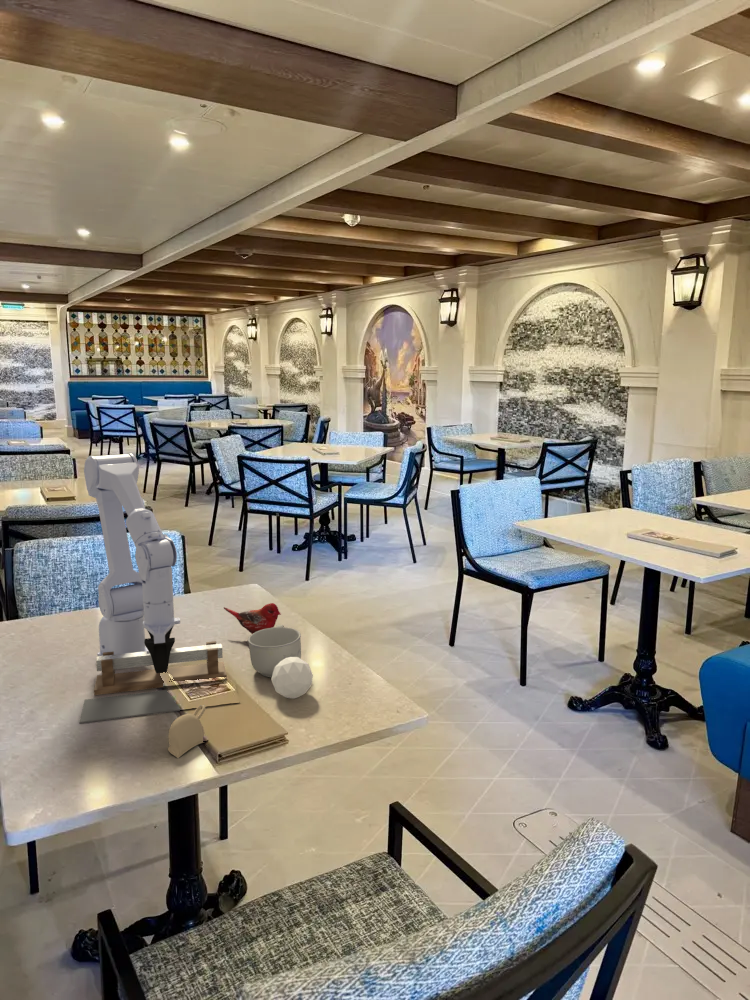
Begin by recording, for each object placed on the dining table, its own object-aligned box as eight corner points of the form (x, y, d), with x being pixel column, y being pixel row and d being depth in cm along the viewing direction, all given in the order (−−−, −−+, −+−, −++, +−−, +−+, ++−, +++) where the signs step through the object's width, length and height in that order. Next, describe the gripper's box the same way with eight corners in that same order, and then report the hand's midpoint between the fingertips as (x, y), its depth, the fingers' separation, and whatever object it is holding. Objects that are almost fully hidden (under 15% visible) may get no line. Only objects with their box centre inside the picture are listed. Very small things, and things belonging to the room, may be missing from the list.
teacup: (291, 684, 138) (291, 647, 137) (240, 679, 140) (239, 642, 139) (312, 657, 151) (311, 622, 150) (265, 653, 154) (264, 619, 152)
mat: (79, 723, 122) (79, 722, 122) (84, 701, 130) (84, 699, 130) (240, 703, 130) (240, 701, 130) (235, 683, 138) (235, 681, 138)
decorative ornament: (160, 751, 113) (159, 721, 112) (200, 730, 120) (198, 701, 119) (176, 759, 111) (175, 728, 110) (216, 737, 118) (215, 708, 117)
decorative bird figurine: (277, 649, 156) (276, 607, 154) (219, 633, 165) (218, 593, 163) (285, 645, 158) (284, 603, 156) (228, 630, 167) (227, 590, 166)
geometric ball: (303, 707, 134) (327, 680, 132) (272, 706, 129) (295, 677, 126) (289, 677, 139) (311, 650, 137) (257, 674, 133) (280, 646, 131)
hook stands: (94, 695, 133) (92, 664, 132) (97, 680, 139) (95, 651, 138) (226, 679, 140) (225, 650, 139) (223, 666, 147) (222, 638, 145)
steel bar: (96, 671, 134) (96, 660, 134) (97, 666, 137) (97, 656, 136) (222, 657, 141) (222, 647, 141) (221, 653, 143) (221, 643, 143)
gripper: (180, 609, 131) (183, 676, 133) (178, 587, 145) (181, 648, 147) (140, 612, 129) (144, 681, 131) (142, 590, 143) (146, 652, 145)
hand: (161, 664), depth 139 cm, fingers open, 7 cm apart
